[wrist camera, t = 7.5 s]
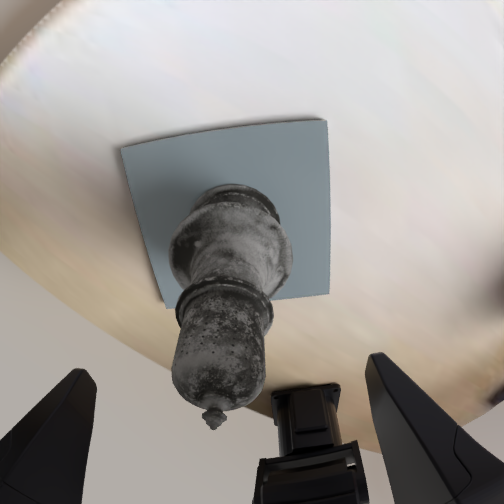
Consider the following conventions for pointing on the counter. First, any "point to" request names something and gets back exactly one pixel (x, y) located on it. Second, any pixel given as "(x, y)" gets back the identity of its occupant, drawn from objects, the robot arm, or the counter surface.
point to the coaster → (243, 173)
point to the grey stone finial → (226, 296)
